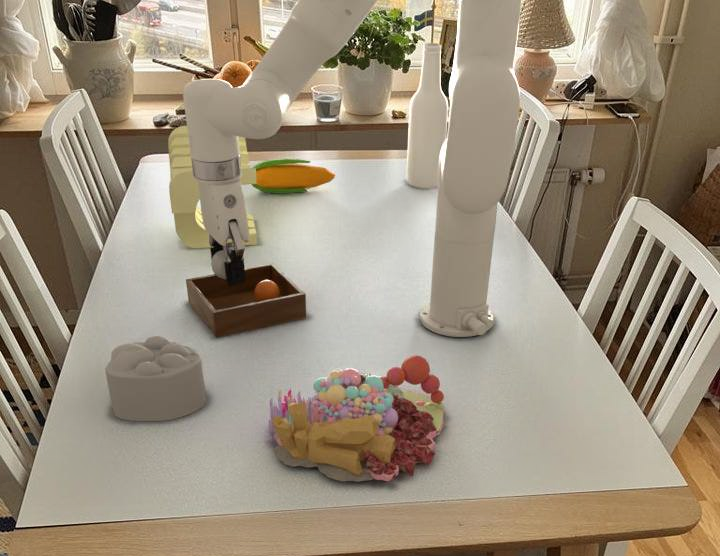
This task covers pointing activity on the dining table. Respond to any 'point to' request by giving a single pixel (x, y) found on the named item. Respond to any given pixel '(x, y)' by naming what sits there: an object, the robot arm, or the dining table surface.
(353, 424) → the colourful coral reef
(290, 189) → the corn
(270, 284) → the mandarin
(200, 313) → the wooden tray
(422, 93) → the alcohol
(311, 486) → the dining table surface
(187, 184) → the slatted curved stool
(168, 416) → the lumpy-topped squat cylinder
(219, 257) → the garlic
